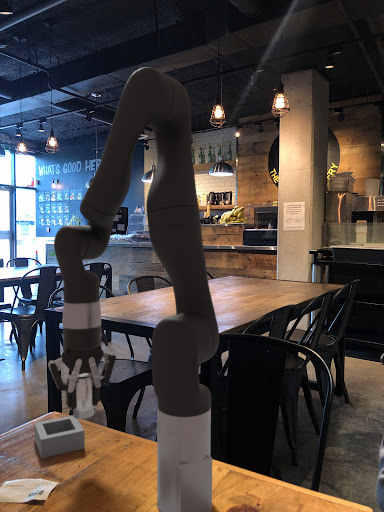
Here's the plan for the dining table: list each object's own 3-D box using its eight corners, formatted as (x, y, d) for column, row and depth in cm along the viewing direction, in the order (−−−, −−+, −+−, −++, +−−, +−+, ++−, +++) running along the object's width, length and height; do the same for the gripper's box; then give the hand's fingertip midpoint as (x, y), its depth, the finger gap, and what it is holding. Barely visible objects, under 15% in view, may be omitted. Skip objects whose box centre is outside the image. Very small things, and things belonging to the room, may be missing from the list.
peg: (95, 416, 86) (95, 377, 86) (75, 420, 84) (75, 380, 84) (90, 409, 90) (90, 372, 89) (71, 413, 88) (70, 375, 87)
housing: (84, 448, 92) (84, 430, 92) (41, 458, 88) (41, 439, 88) (74, 431, 100) (74, 415, 100) (34, 440, 96) (34, 422, 95)
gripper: (49, 330, 79) (50, 420, 80) (121, 323, 86) (122, 406, 87) (42, 323, 86) (44, 407, 87) (110, 317, 93) (111, 394, 93)
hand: (83, 406), depth 87 cm, fingers closed on peg, 4 cm apart
